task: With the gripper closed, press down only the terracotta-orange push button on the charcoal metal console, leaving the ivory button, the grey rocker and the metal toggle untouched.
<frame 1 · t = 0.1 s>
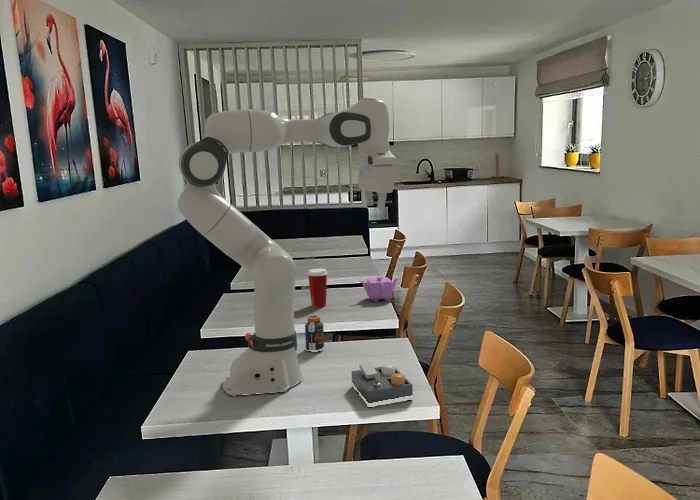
hand: (375, 206, 165), 48 cm above the table, fingers open, 8 cm apart
button ivory: (388, 373, 157), point 4 cm above the table, slide at 0.0 cm
rocker: (368, 370, 155), point 6 cm above the table, hinge at 10.0°
pill bottle: (315, 350, 188), on the table
button orange: (398, 383, 151), point 4 cm above the table, slide at 0.0 cm
teapot: (379, 299, 247), on the table
coffee cup: (318, 306, 239), on the table
console: (381, 393, 154), on the table
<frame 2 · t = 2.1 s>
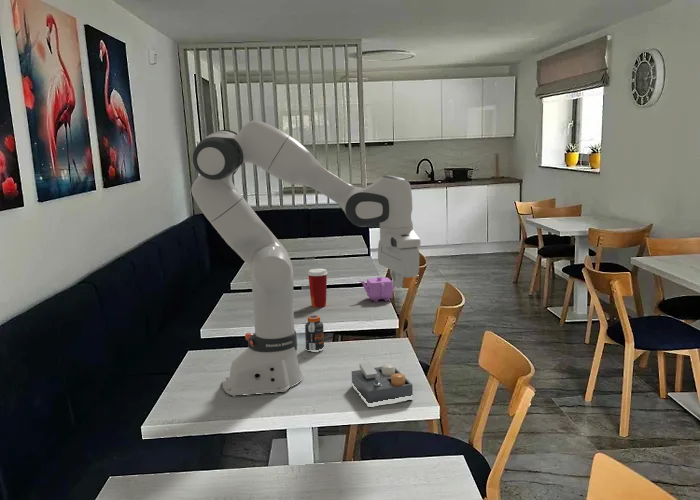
hand: (397, 286, 157), 27 cm above the table, fingers closed
nothing on the table moved.
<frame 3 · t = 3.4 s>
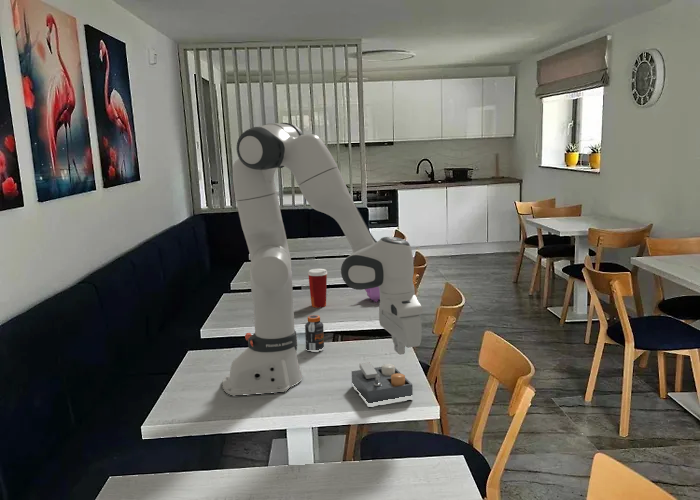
hand: (399, 352, 149), 13 cm above the table, fingers closed
nothing on the table moved.
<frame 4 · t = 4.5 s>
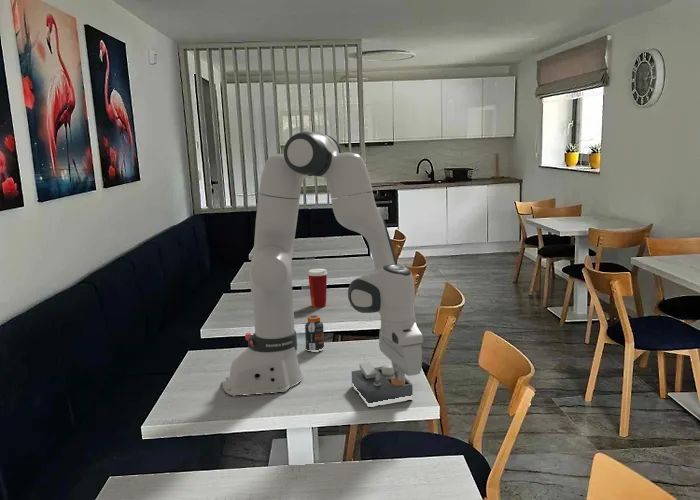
hand: (399, 378, 151), 5 cm above the table, fingers closed, pressing on button orange
button orange: (398, 386, 151), point 3 cm above the table, slide at 0.9 cm, touching gripper
everything else where it was.
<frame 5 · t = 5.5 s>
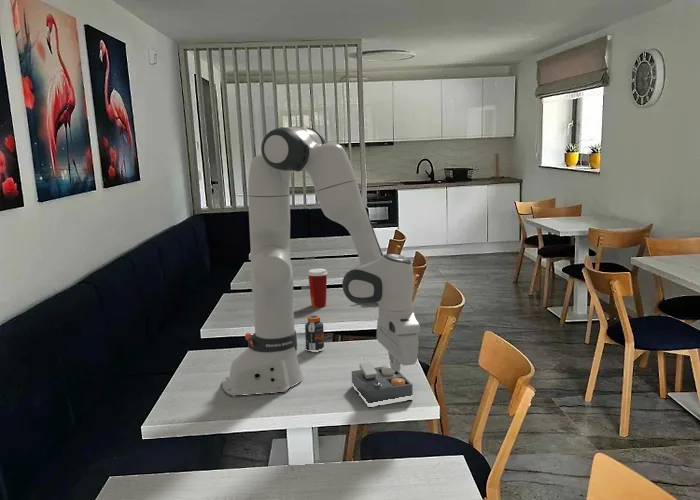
hand: (395, 369, 150), 8 cm above the table, fingers closed
button orange: (398, 387, 151), point 3 cm above the table, slide at 1.3 cm
everything else where it was.
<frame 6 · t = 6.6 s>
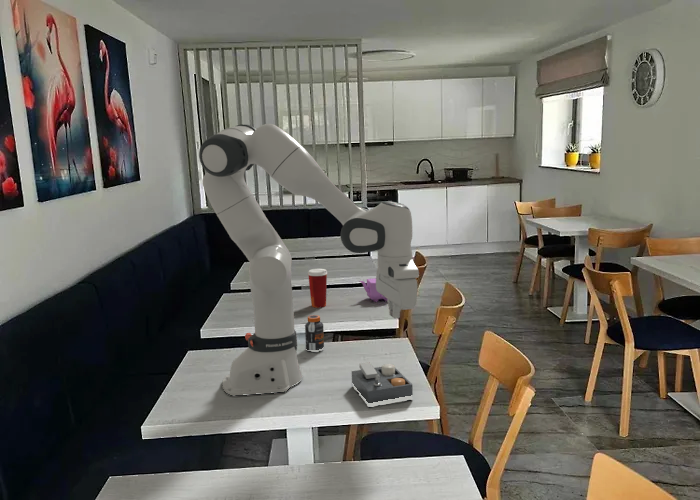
hand: (394, 316, 151), 21 cm above the table, fingers closed
nothing on the table moved.
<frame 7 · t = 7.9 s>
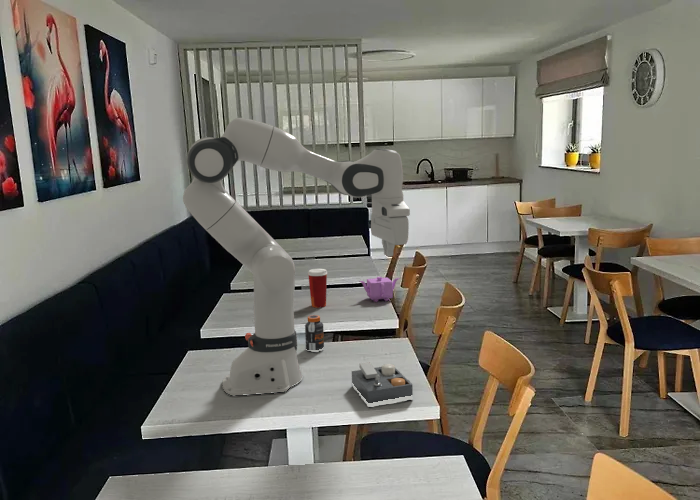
hand: (388, 255, 164), 34 cm above the table, fingers closed
nothing on the table moved.
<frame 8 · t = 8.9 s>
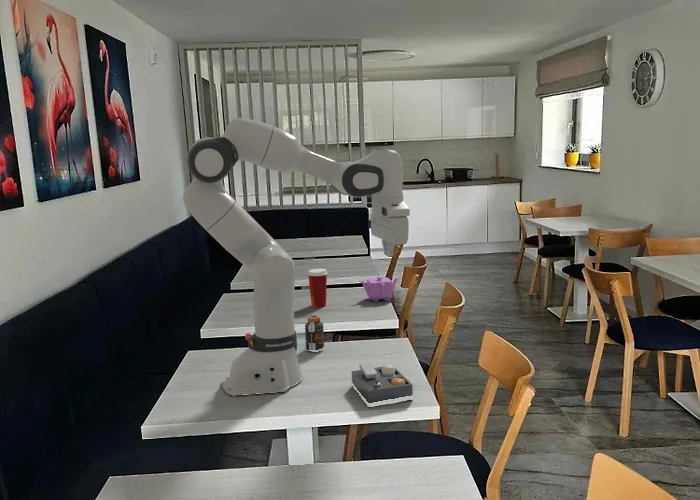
hand: (388, 255, 164), 34 cm above the table, fingers closed
nothing on the table moved.
at the end: button orange slide at 1.3 cm; button ivory slide at 0.0 cm; rocker at +10° (first picture: +10°) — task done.
